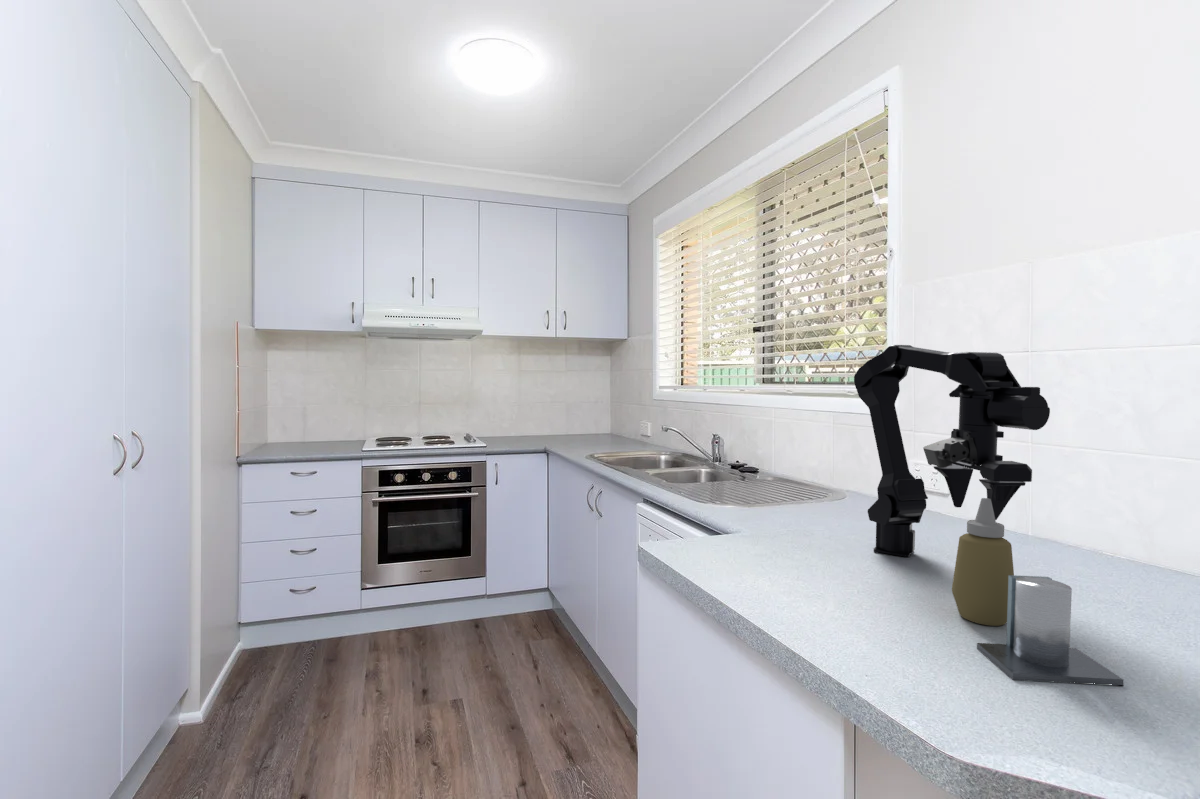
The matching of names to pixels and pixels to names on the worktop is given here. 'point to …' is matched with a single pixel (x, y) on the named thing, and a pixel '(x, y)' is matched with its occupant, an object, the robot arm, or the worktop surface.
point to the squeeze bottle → (983, 569)
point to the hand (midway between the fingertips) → (974, 513)
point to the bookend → (1043, 636)
